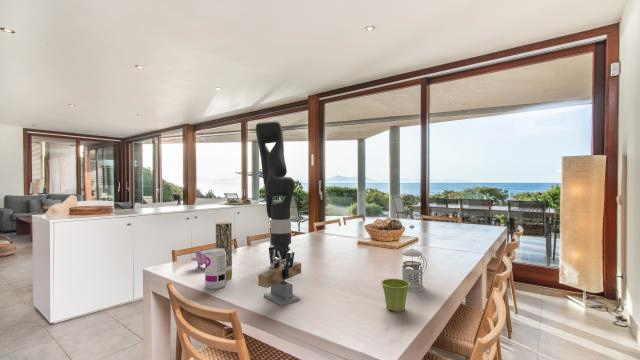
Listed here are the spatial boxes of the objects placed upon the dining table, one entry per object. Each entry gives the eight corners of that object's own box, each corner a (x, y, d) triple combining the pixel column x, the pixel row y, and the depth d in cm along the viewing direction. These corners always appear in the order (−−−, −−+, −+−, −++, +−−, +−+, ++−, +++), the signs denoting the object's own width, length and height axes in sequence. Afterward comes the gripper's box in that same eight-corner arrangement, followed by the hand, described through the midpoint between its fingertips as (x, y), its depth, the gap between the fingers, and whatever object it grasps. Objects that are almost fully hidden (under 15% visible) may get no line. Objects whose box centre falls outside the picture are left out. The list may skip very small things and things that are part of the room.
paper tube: (227, 281, 138) (227, 223, 138) (213, 280, 139) (212, 222, 139) (234, 276, 144) (234, 221, 144) (221, 275, 146) (220, 220, 146)
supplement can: (207, 291, 126) (206, 252, 126) (204, 284, 133) (203, 248, 133) (228, 287, 129) (227, 250, 129) (224, 281, 137) (223, 246, 137)
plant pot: (378, 303, 112) (377, 278, 112) (404, 302, 113) (404, 277, 113) (385, 314, 102) (385, 287, 102) (414, 313, 103) (414, 286, 103)
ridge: (281, 291, 125) (281, 276, 124) (299, 300, 115) (299, 283, 115) (263, 296, 119) (263, 280, 119) (281, 305, 110) (281, 288, 110)
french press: (394, 285, 131) (394, 224, 131) (417, 281, 135) (416, 222, 135) (410, 293, 122) (410, 227, 122) (434, 288, 126) (433, 225, 126)
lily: (220, 270, 158) (220, 251, 163) (204, 266, 148) (204, 246, 153) (201, 275, 161) (202, 257, 166) (184, 272, 152) (185, 252, 156)
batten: (292, 271, 127) (292, 261, 127) (301, 272, 125) (301, 262, 125) (258, 285, 110) (258, 274, 110) (267, 287, 108) (267, 276, 108)
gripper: (300, 232, 114) (301, 279, 114) (278, 227, 125) (279, 271, 125) (283, 234, 109) (283, 284, 109) (262, 229, 120) (262, 274, 120)
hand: (281, 277), depth 117 cm, fingers closed on batten, 5 cm apart
